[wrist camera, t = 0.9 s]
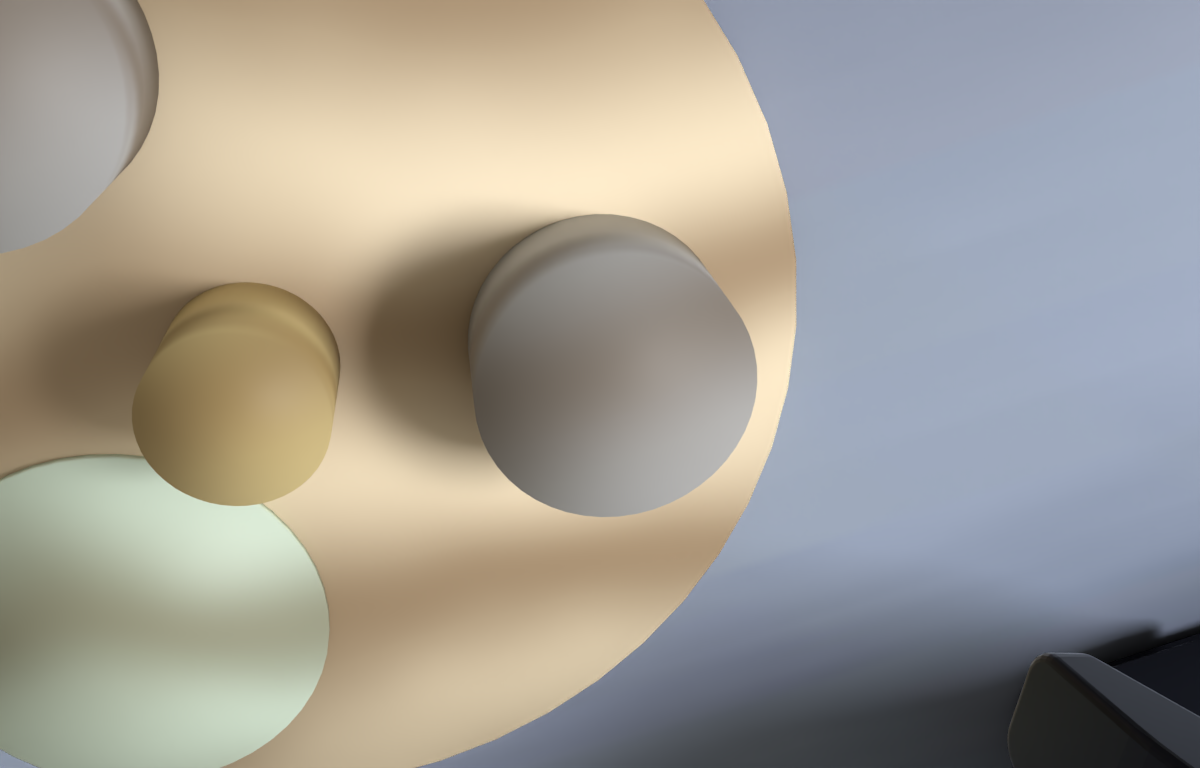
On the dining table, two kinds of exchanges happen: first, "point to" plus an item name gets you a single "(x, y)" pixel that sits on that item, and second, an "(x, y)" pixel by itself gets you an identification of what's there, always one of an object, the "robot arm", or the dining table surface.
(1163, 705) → the robot arm
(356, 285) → the carrier plate
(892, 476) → the dining table surface
